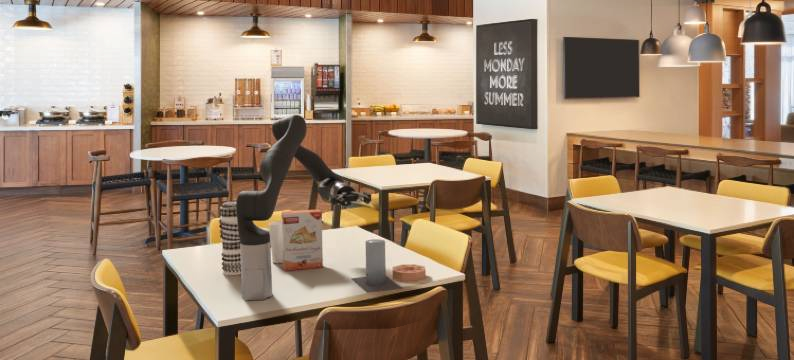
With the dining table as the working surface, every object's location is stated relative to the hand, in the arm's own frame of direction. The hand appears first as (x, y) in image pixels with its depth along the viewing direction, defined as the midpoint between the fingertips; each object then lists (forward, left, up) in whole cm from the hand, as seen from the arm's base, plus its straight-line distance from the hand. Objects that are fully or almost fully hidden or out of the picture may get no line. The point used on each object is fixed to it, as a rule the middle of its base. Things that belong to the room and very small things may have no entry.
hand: (356, 202), depth 231 cm
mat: (-12, -7, -26) cm, 29 cm away
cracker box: (+12, +20, -26) cm, 35 cm away
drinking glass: (+21, +30, -26) cm, 45 cm away
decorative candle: (+8, +44, -26) cm, 52 cm away
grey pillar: (-12, -7, -25) cm, 29 cm away
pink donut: (-5, -18, -26) cm, 32 cm away
